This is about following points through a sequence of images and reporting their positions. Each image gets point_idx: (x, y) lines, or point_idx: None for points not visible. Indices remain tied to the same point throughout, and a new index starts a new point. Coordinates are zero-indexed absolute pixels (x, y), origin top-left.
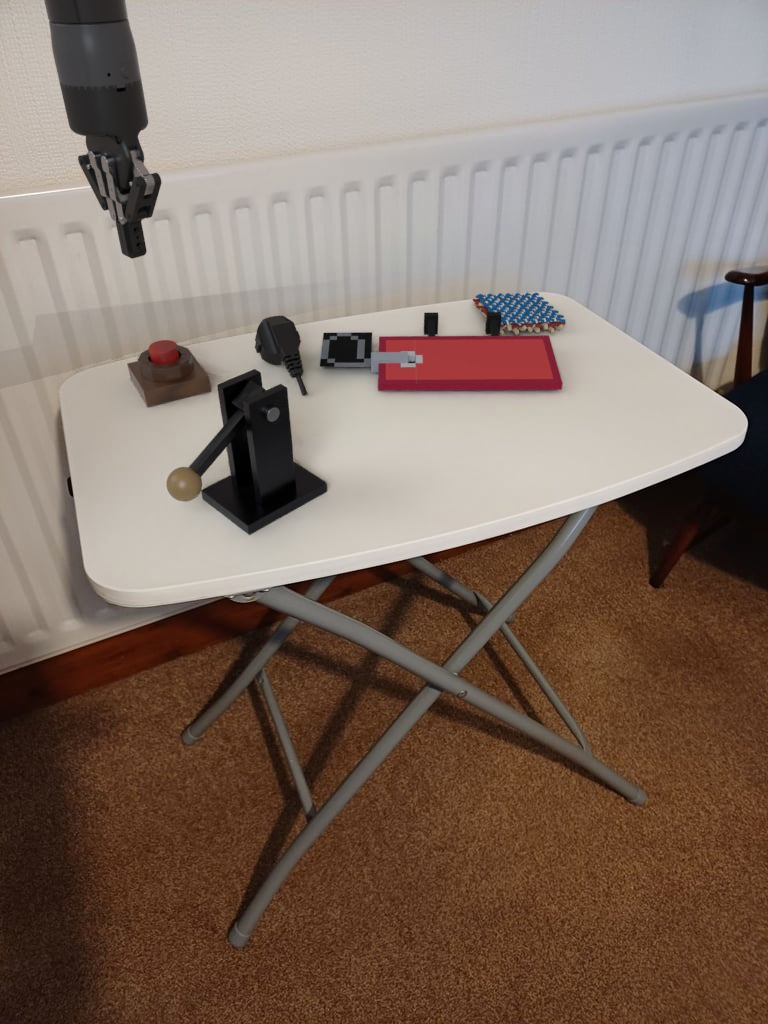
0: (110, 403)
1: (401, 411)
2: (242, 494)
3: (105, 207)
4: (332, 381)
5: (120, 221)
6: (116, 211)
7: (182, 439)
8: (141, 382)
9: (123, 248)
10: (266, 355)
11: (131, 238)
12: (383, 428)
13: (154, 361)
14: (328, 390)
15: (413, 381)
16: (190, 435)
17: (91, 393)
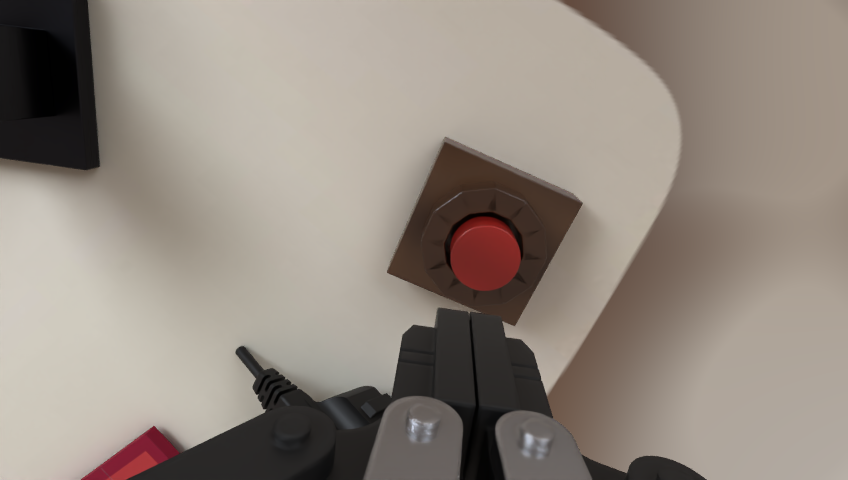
0: (526, 97)
1: (87, 400)
2: (7, 20)
3: (632, 472)
4: (247, 410)
5: (438, 408)
6: (495, 464)
7: (289, 100)
8: (482, 165)
9: (477, 326)
10: (352, 392)
11: (398, 366)
12: (65, 346)
13: (481, 217)
14: (228, 384)
15: (109, 470)
16: (289, 120)
17: (598, 97)
